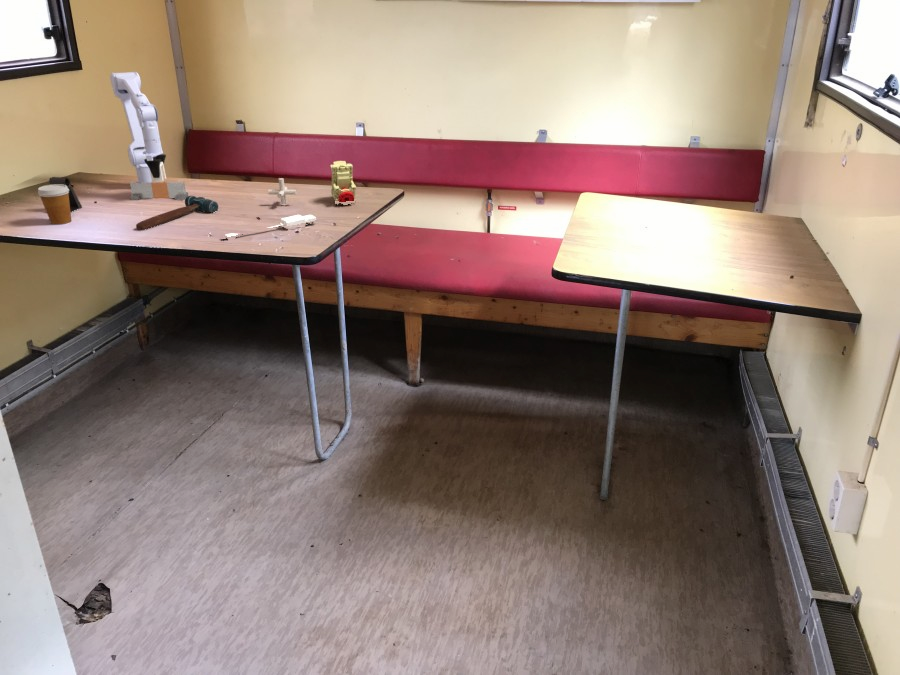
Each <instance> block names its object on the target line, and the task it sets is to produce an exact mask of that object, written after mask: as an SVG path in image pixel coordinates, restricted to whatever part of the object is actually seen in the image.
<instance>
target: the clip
mask: <svg viewBox="0 0 900 675" xmlns="http://www.w3.org/2000/svg"><path fill="white" fill-rule="evenodd" d="M149 170H150V169H149ZM150 175H151V180H152V182H165V181H164V180H167V175H166V170H165V164H164V165H163V162H160V178H153V175H152V173H151V171H150Z"/></svg>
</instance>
